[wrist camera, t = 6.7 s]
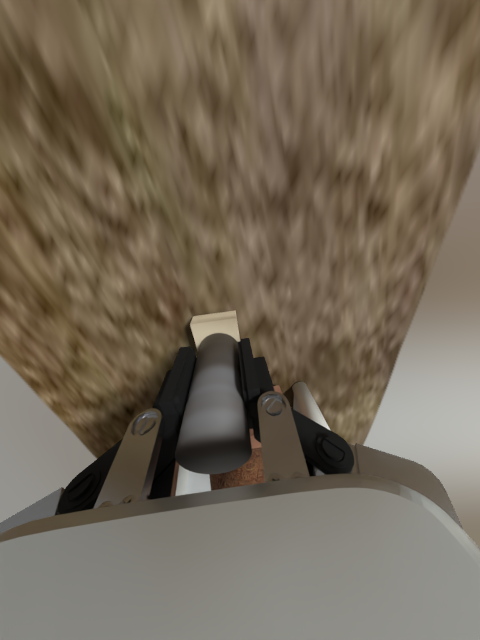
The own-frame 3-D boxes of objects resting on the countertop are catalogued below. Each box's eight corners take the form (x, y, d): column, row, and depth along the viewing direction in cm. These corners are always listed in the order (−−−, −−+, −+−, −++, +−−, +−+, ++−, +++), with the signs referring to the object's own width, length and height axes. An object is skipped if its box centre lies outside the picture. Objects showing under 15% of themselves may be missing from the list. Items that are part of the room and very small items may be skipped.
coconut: (201, 417, 18) (185, 543, 10) (237, 391, 16) (247, 515, 9) (237, 436, 20) (243, 552, 12) (271, 414, 18) (301, 530, 11)
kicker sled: (150, 322, 12) (52, 437, 5) (277, 304, 12) (344, 395, 5) (185, 410, 16) (158, 536, 10) (279, 397, 16) (316, 511, 10)
